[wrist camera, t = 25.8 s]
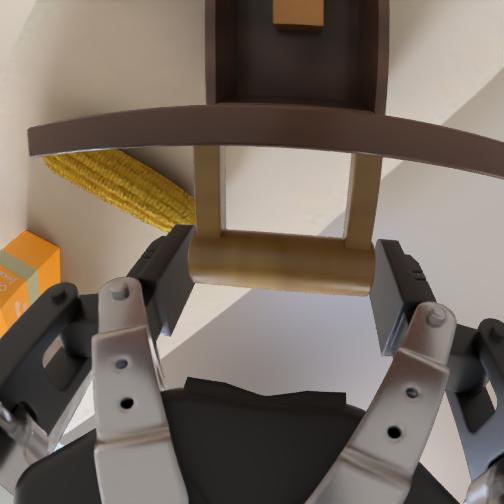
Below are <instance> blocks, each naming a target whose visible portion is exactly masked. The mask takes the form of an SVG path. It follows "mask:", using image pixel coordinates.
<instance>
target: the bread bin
mask: <svg viewBox="0 0 504 504" xmlns="http://www.w3.org/2000/svg"><path fill="white" fill-rule="evenodd" d="M388 65H389V0H324V26H323V28H322V30H321V32H307V31H284V30H276V28H275V26H274V24H273V0H205V82H206V105H220V104H256V105H286V106H304V107H317V108H329V109H339V110H348V111H357V112H365V113H372V114H379V115H385V111H386V98H387V84H388Z"/></svg>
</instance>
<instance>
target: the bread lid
mask: <svg viewBox="0 0 504 504" xmlns="http://www.w3.org/2000/svg"><path fill="white" fill-rule="evenodd" d="M27 137H28V149H29V156H30V157H31V158H35V157H42V156H50V155H58V154H66V153H75V152H85V151H96V150H108V149H122V148H138V147H161V146H193V164H194V196H195V219H196V230H195V231H194V233H193V235H192V237H191V240H190V244H189V250H188V271H189V276H190V278H191V280H192V281H193V282H195V283H203V284H213V285H223V286H234V287H245V288H256V289H267V290H280V291H292V292H305V293H319V294H334V295H348V296H349V295H350V296H367V295H369V293H370V291H371V289H372V286H373V282H374V276H375V267H376V256H375V249H374V245H373V243H372V241H371V240H372V234H373V228H374V222H375V215H376V207H377V201H378V193H379V186H380V177H381V168H382V158H383V157H387V158H394V159H401V160H408V161H415V162H421V163H426V164H432V165H438V166H443V167H449V168H454V169H459V170H464V171H468V172H474V173H478V174H482V175H487V176H491V177H495V178H499V179H504V142H501V141H498V140H494V139H491V138H487V137H484V136H480V135H476V134H473V133H469V132H465V131H461V130H457V129H452V128H448V127H444V126H440V125H435V124H430V123H425V122H420V121H415V120H410V119H404V118H398V117H392V116H386V115H379V114H372V113H365V112H357V111H348V110H339V109H329V108H317V107H304V106H286V105H256V104H220V105H190V106H173V107H160V108H148V109H138V110H129V111H121V112H113V113H105V114H98V115H92V116H86V117H80V118H74V119H69V120H63V121H58V122H53V123H48V124H44V125H39V126H35V127H30V128H29V129H28V130H27ZM225 146H257V147H279V148H296V149H311V150H323V151H334V152H344V153H352V154H351V166H350V177H349V187H348V197H347V206H346V215H345V223H344V231H343V238H338V237H324V236H312V235H299V234H286V233H272V232H257V231H243V230H227V229H226V185H225Z"/></svg>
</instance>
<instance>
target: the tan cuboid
mask: <svg viewBox="0 0 504 504" xmlns="http://www.w3.org/2000/svg"><path fill="white" fill-rule="evenodd" d="M273 24H274V26H275V28H276V30H284V31H307V32H321V30H322V28H323V26H324V0H273Z"/></svg>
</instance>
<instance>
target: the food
mask: <svg viewBox="0 0 504 504" xmlns="http://www.w3.org/2000/svg"><path fill="white" fill-rule="evenodd" d="M43 158H44V162H45V163H46V165H47V166H48V168H49V169H51V170H52V171H53V173H55V174H56V175H58V176H60V177H62V178H63V179H66V180H68V181H70V182H71V183H74V184H77V185H78V186H79V187H80V188H83V189H84V190H86V191H88V192H89V193H93V194H94V195H95V196H97V197H99V198H101V199H102V200H104V201H105V202H107V203H109V204H110V205H113V206H115V207H117V208H120V209H121V210H122V211H125V212H127V213H129V214H131V215H133V216H134V217H136V218H138V219H140V220H141V221H143V222H145V223H148V224H150V225H152V226H154V227H156V228H158V229H160V230H162V231H165V232H168V233H169V232H170V231H171V229H172V228H173V227H174V225H176V224H184V225H195V226H196V219H195V199H194V198H193V197H192V196H190V195H189V194H187V193H186V191H184V190H183V189H182V188H179V187H178V186H177V185H176V184H174V183H173V182H172V181H170V180H169V179H166V178H165V177H164V176H162V175H161V174H159V173H158V172H156V171H154V170H152V168H150V167H147V166H146V165H144V164H142V163H141V162H139V161H138V160H136V159H134V158H132V157H130V156H129V155H127V154H125V153H124V152H122V151H120V150H118V149H108V150H96V151H85V152H75V153H66V154H58V155H50V156H43Z"/></svg>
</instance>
